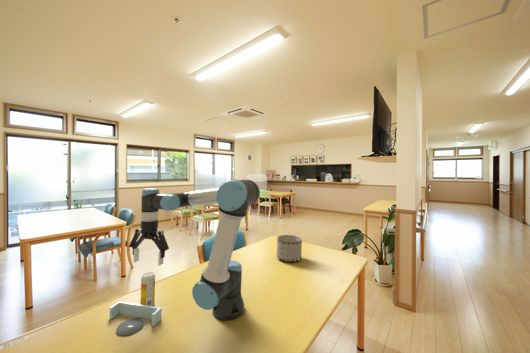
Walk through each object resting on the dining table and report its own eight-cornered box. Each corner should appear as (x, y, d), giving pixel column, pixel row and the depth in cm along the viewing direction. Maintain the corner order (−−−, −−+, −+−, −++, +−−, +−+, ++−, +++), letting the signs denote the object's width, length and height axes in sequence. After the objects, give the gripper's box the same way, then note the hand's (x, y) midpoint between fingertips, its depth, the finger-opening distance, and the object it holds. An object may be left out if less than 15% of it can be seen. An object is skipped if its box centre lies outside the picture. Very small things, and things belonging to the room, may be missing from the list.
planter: (303, 264, 162) (303, 242, 162) (277, 263, 162) (277, 241, 162) (299, 254, 181) (299, 235, 181) (276, 254, 182) (276, 234, 182)
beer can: (151, 300, 111) (152, 270, 111) (156, 304, 107) (157, 274, 107) (138, 305, 106) (139, 274, 106) (143, 310, 102) (144, 278, 102)
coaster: (149, 321, 95) (149, 319, 95) (131, 337, 85) (131, 336, 85) (129, 317, 97) (129, 316, 97) (109, 333, 87) (109, 332, 87)
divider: (161, 318, 97) (161, 307, 97) (153, 326, 92) (154, 314, 92) (118, 311, 101) (119, 301, 101) (109, 318, 96) (109, 307, 96)
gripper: (177, 220, 108) (175, 262, 108) (133, 216, 112) (132, 257, 113) (167, 223, 101) (166, 269, 101) (121, 219, 105) (120, 263, 105)
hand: (148, 263), depth 107 cm, fingers open, 13 cm apart
